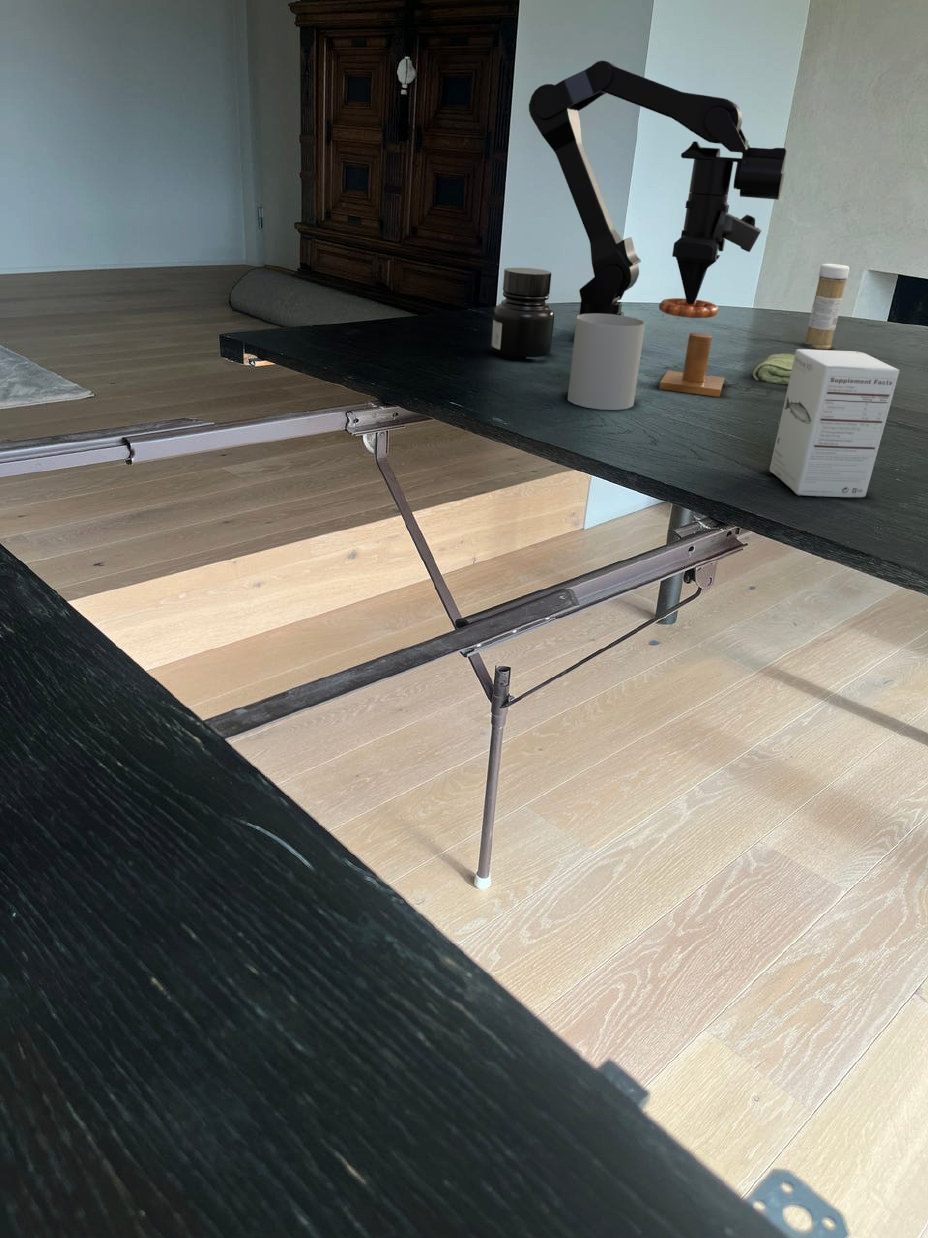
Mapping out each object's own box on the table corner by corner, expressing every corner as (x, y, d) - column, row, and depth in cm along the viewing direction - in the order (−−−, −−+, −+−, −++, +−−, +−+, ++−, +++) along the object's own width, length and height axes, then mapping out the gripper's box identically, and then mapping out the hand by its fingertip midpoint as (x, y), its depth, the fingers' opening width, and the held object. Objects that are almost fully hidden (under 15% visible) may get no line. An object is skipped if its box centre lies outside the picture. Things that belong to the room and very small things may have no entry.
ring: (655, 314, 145) (656, 303, 144) (662, 305, 152) (664, 295, 151) (714, 321, 142) (716, 310, 142) (718, 311, 150) (720, 301, 149)
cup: (638, 398, 123) (650, 318, 119) (627, 413, 116) (639, 329, 112) (575, 389, 126) (584, 310, 121) (560, 403, 119) (569, 320, 114)
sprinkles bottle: (812, 343, 167) (830, 262, 161) (836, 349, 164) (855, 266, 158) (797, 346, 164) (815, 263, 158) (821, 351, 161) (840, 267, 155)
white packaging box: (766, 471, 99) (793, 347, 93) (835, 474, 99) (866, 350, 94) (794, 496, 92) (825, 364, 86) (867, 498, 93) (903, 367, 87)
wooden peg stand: (659, 389, 129) (667, 335, 126) (666, 377, 136) (674, 326, 133) (719, 397, 127) (729, 343, 124) (723, 384, 134) (733, 333, 131)
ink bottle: (506, 346, 148) (513, 264, 143) (559, 354, 145) (568, 271, 140) (480, 356, 141) (486, 270, 135) (535, 365, 137) (543, 277, 132)
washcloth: (881, 406, 128) (887, 382, 127) (748, 385, 134) (753, 361, 133) (888, 387, 139) (894, 365, 137) (765, 368, 145) (769, 347, 144)
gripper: (761, 201, 133) (740, 317, 140) (765, 196, 149) (746, 300, 156) (680, 194, 136) (663, 309, 143) (693, 190, 151) (677, 293, 159)
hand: (691, 302), depth 150 cm, fingers closed on ring, 1 cm apart
